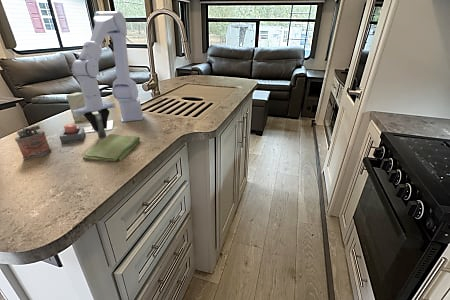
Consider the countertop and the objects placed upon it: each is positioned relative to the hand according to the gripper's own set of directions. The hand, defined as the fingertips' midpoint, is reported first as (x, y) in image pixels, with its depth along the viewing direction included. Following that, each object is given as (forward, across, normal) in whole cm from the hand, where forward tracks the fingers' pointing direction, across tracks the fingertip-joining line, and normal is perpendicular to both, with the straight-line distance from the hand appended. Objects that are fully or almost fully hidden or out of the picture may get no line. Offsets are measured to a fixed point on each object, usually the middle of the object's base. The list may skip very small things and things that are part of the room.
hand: (100, 129), depth 93 cm
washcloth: (+4, +3, +15) cm, 16 cm away
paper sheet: (+3, -1, -13) cm, 13 cm away
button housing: (+3, +8, -6) cm, 10 cm away
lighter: (+3, +22, 0) cm, 22 cm away
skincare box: (+3, -3, -27) cm, 27 cm away
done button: (0, +8, -6) cm, 10 cm away
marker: (+3, 0, 0) cm, 3 cm away
